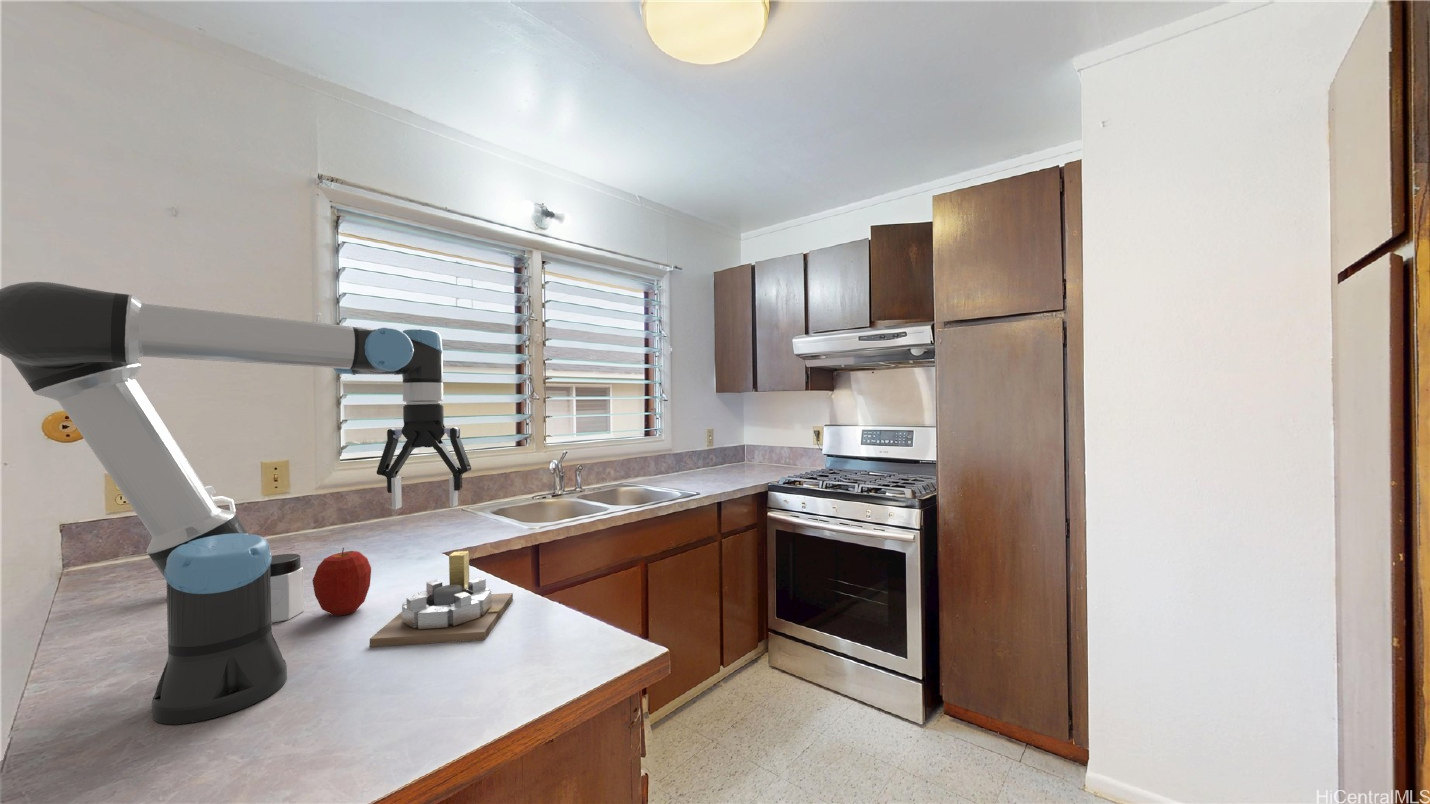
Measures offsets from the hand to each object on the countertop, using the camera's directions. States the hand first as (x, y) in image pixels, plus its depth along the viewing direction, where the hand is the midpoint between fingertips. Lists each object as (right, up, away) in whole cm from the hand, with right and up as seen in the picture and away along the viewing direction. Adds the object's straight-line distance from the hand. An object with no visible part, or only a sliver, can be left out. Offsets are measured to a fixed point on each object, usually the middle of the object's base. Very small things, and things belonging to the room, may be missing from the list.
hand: (425, 507), depth 114 cm
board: (+8, -22, -6) cm, 24 cm away
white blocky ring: (+8, -20, -6) cm, 22 cm away
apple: (-17, -22, 0) cm, 28 cm away
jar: (-30, -23, -2) cm, 38 cm away
